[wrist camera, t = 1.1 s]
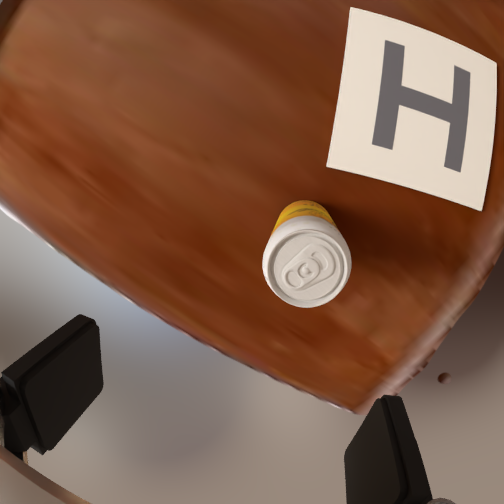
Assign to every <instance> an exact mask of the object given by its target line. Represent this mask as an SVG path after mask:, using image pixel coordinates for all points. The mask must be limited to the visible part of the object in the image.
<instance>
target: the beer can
mask: <svg viewBox="0 0 504 504" xmlns="http://www.w3.org/2000/svg"><path fill="white" fill-rule="evenodd" d="M350 271H351V254H350V251H349V248H348V246H347V243H346V242H345V240H344V238H343V237H342V235H341V233H340V232H339V230H338V228H337V227H336V225H335V223H334V222H333V220H332V218H331V217H330V215H329V214H328V212H327V211H326V210H325V209H324V208H323V207H322V206H321V205H319V204H318V203H315V202H312V201H306V200H303V201H297V202H294V203H292V204H290V205H289V206H287V207H286V208H285V209H284V210H283V211H282V213H281V214H280V216H279V218H278V220H277V223H276V225H275V227H274V230H273V232H272V234H271V237H270V239H269V241H268V244H267V246H266V249H265V251H264V255H263V272H264V276H265V279H266V281H267V283H268V285H269V286H270V288H271V289H272V290H273V292H274V293H275V294H276V295H278V296H279V297H280V298H281V299H282V300H284V301H285V302H287V303H289V304H291V305H294V306H297V307H305V308H309V307H316V306H320V305H323V304H325V303H327V302H329V301H330V300H332V299H333V298H334V297H335V296H336V295H337V294H338V293H339V292H340V291H341V290H342V289H343V287H344V286H345V284H346V283H347V280H348V278H349V275H350Z"/></svg>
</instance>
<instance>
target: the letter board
mask: <svg viewBox="0 0 504 504" xmlns="http://www.w3.org/2000/svg"><path fill="white" fill-rule="evenodd" d="M496 94H497V64H496V63H495V62H494V61H492V60H490V59H488V58H486V57H484V56H482V55H481V54H479V53H477V52H475V51H473V50H471V49H469V48H467V47H464V46H462V45H460V44H458V43H456V42H454V41H451V40H449V39H447V38H444V37H442V36H440V35H437V34H435V33H432V32H430V31H427V30H425V29H422V28H419V27H417V26H414V25H411V24H408V23H405V22H402V21H399V20H396V19H393V18H390V17H386V16H383V15H380V14H376V13H372V12H369V11H365V10H361V9H357V8H353V7H351V8H350V14H349V23H348V31H347V39H346V47H345V55H344V62H343V69H342V76H341V83H340V90H339V96H338V103H337V109H336V115H335V121H334V127H333V133H332V138H331V144H330V149H329V155H328V160H327V166H326V167H330V168H335V169H339V170H343V171H347V172H352V173H356V174H360V175H364V176H368V177H372V178H375V179H379V180H383V181H387V182H390V183H394V184H398V185H401V186H405V187H408V188H412V189H415V190H418V191H422V192H425V193H428V194H431V195H435V196H438V197H441V198H444V199H447V200H450V201H453V202H456V203H459V204H462V205H465V206H468V207H471V208H473V209H476V210H479V211H482V207H483V202H484V197H485V192H486V187H487V181H488V176H489V169H490V163H491V156H492V148H493V139H494V129H495V115H496Z"/></svg>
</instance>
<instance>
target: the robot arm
mask: <svg viewBox="0 0 504 504" xmlns="http://www.w3.org/2000/svg"><path fill="white" fill-rule="evenodd" d="M1 373H2V377H1V378H0V504H91V503H89V502H87V501H85V500H83V499H82V498H80V497H78V496H76V495H74V494H73V493H71V492H69V491H67V490H66V489H64V488H62V487H61V486H59V485H58V484H56V483H54V482H53V481H51V480H50V479H48V478H46V477H45V476H43V475H42V474H40V473H39V472H37V471H36V470H35V469H33V468H31V467H30V466H29V465H28V458H27V450H28V449H29V448H30V447H31V448H33V449H34V450H36V451H37V452H39V453H40V454H42V455H43V454H44V453H45V452H46V451H47V450H52V449H53V448H54V447H55V446H56V445H57V443H58V442H59V441H60V440H61V439H62V437H63V436H64V435H65V434H66V433H67V431H68V430H69V429H70V428H71V426H72V425H73V424H74V423H75V422H76V421H77V420H78V418H79V417H80V416H81V415H82V414H83V412H84V411H85V410H86V409H87V408H88V407H89V405H90V404H91V403H92V402H93V401H94V399H95V398H96V397H97V396H98V395H99V394H100V392H101V391H102V388H103V375H102V363H101V350H100V334H99V327H98V326H97V325H96V322H95V320H94V319H91V318H89V317H86V316H84V315H81V314H79V315H77V316H76V317H74V318H73V319H72V320H70V321H69V322H67V323H66V324H65V325H64V326H62V327H61V328H59V329H58V330H57V331H55V332H54V333H53V334H51V335H50V336H49V337H47V338H46V339H44V340H43V341H42V342H41V343H39V344H38V345H37V346H35V347H34V348H32V349H31V350H30V351H28V352H27V353H26V354H25V355H23V356H22V357H21V358H19V359H18V360H17V361H15V362H14V363H13V364H12V365H10V366H9V367H8V368H7V369H5V370H4V371H3V372H1ZM344 462H345V479H346V498H347V504H455V503H454V502H452V501H451V500H448V499H445V498H437V499H432V494H431V490H430V486H429V483H428V479H427V475H426V472H425V468H424V465H423V461H422V458H421V454H420V451H419V448H418V444H417V441H416V439H415V437H414V433H413V430H412V427H411V424H410V421H409V418H408V416H407V412H406V409H405V406H404V403H403V401H402V398H401V397H400V396H391V395H383V396H382V397H381V399H380V398H378V399H376V401H375V402H374V404H373V406H372V408H371V409H370V411H369V413H368V415H367V416H366V418H365V420H364V421H363V423H362V425H361V427H360V428H359V430H358V431H357V433H356V435H355V436H354V438H353V440H352V441H351V443H350V444H349V446H348V447H347V449H346V451H345V455H344Z"/></svg>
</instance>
